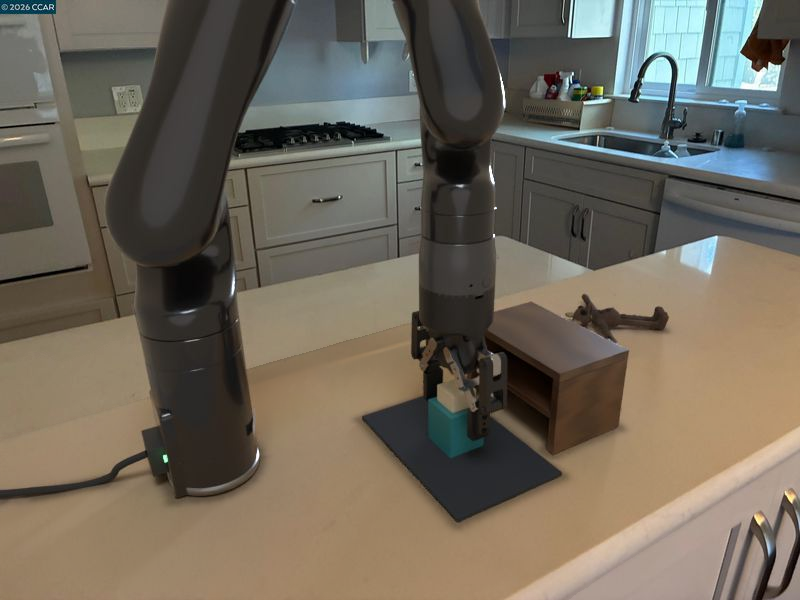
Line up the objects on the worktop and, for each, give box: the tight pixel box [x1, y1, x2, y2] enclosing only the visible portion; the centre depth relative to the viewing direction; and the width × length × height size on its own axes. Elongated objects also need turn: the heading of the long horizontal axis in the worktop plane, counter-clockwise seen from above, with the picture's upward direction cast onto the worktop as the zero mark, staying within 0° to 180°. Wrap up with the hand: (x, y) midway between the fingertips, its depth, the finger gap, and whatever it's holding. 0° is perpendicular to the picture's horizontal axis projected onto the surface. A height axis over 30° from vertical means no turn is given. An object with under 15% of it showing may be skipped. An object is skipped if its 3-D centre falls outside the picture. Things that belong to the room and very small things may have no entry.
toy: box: [428, 378, 484, 458], centre depth 67 cm, size 4×4×7 cm
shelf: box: [466, 301, 630, 456], centre depth 73 cm, size 10×16×10 cm, turn 30°
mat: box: [361, 395, 563, 523], centre depth 68 cm, size 13×20×1 cm, turn 30°
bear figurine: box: [564, 293, 670, 344], centre depth 94 cm, size 18×4×14 cm
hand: (454, 417), depth 67 cm, fingers open, 8 cm apart
